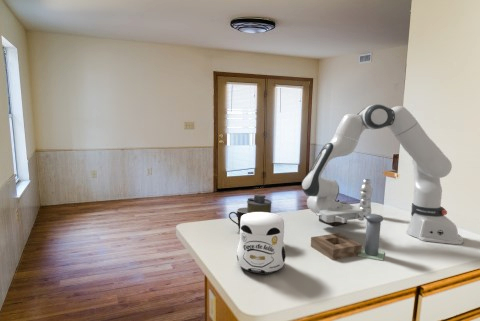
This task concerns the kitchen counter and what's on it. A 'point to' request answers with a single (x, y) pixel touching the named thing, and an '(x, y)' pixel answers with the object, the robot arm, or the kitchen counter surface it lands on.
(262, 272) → the dulce de leche jar
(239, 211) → the coffee mug
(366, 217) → the grey capped peg
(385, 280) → the kitchen counter surface
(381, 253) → the mat
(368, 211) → the plastic bottle
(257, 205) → the canister
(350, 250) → the socket block
